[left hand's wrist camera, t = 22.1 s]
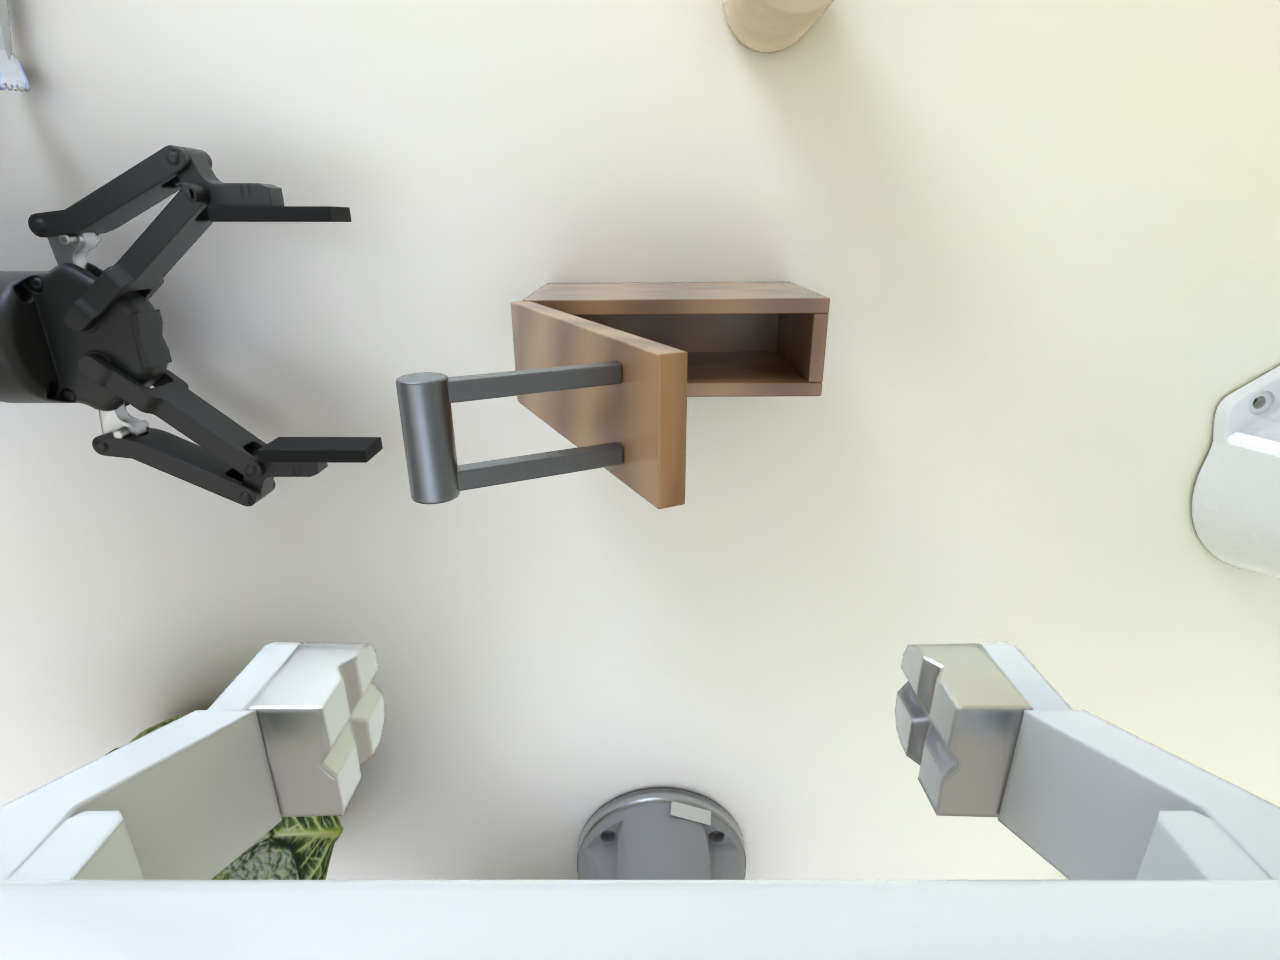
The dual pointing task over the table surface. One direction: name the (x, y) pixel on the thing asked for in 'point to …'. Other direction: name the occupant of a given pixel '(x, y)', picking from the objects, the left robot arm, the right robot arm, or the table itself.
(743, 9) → the candle
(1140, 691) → the table surface
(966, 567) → the table surface
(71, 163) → the table surface
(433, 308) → the table surface
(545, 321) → the lid
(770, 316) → the chest
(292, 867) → the vegetable
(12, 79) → the toy
